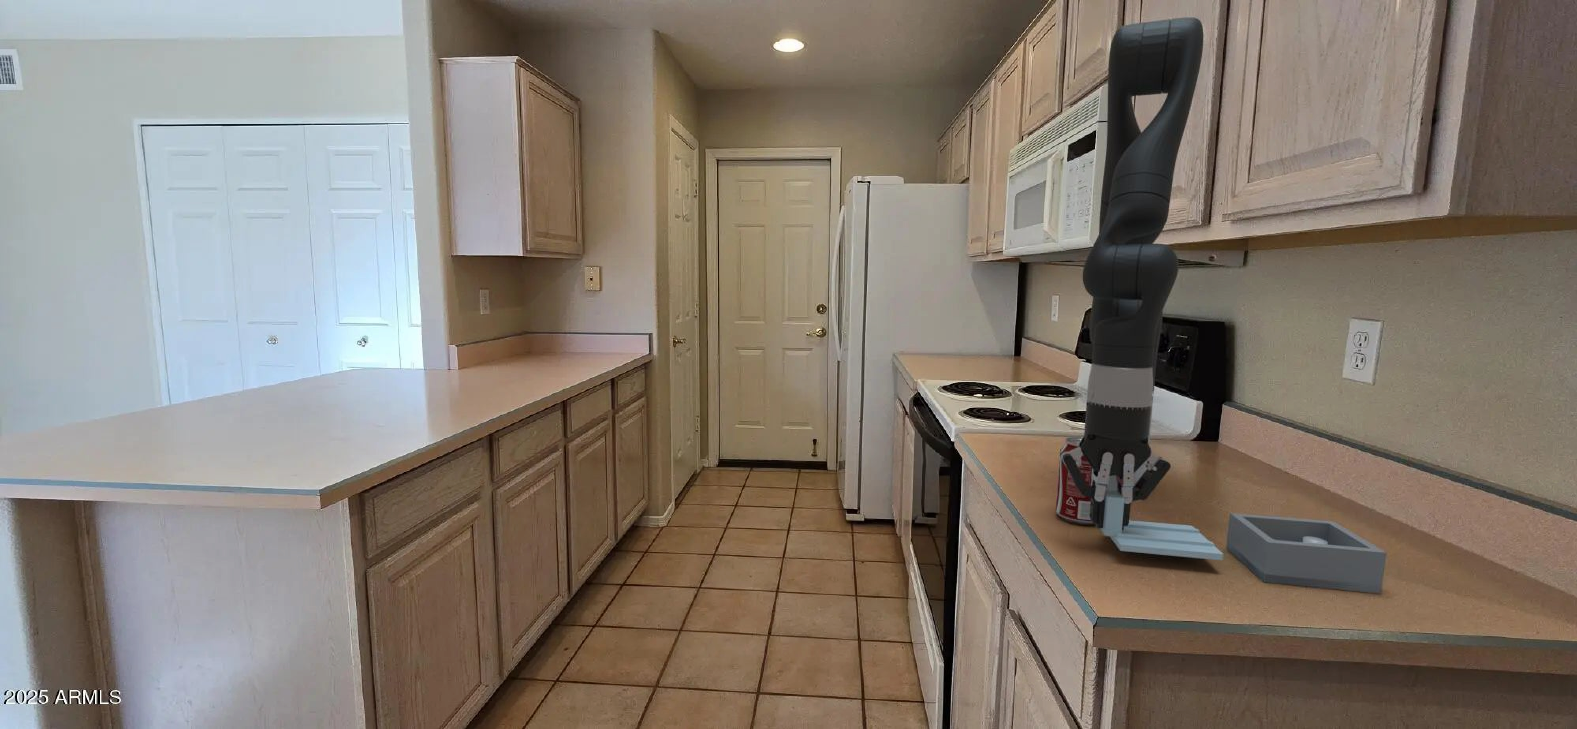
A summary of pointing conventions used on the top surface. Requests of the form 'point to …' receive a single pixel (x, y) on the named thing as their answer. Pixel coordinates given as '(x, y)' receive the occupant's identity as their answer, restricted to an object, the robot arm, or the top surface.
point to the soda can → (1073, 489)
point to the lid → (1153, 534)
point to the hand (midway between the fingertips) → (1108, 526)
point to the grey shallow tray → (1305, 553)
